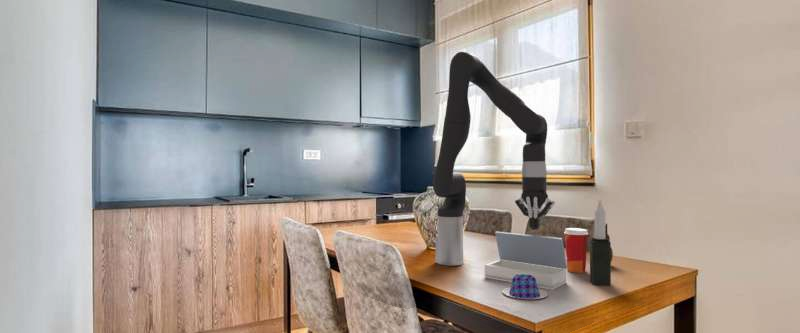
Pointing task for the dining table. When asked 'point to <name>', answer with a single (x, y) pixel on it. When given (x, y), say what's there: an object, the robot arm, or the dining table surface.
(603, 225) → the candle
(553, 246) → the lid
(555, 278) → the grey lidded box
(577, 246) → the paper cup
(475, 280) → the dining table surface
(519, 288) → the pudding
